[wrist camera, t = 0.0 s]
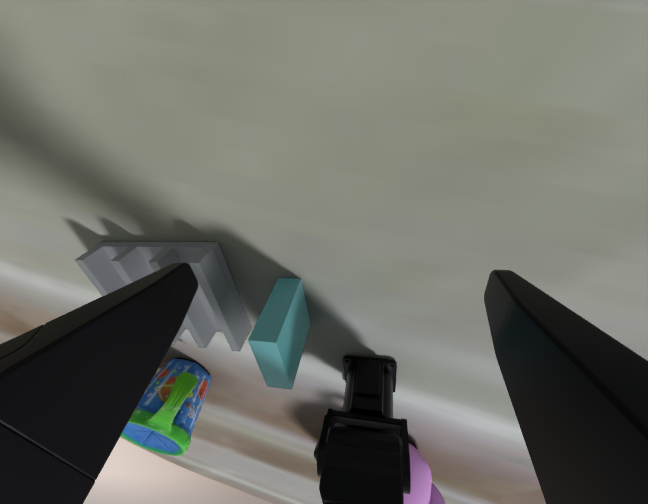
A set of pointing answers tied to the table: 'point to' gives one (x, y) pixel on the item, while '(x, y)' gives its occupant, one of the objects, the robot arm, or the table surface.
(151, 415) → the snack cup
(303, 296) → the tall teal box
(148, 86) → the table surface
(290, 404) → the table surface
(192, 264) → the dish rack
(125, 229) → the table surface
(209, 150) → the table surface
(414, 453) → the teapot
